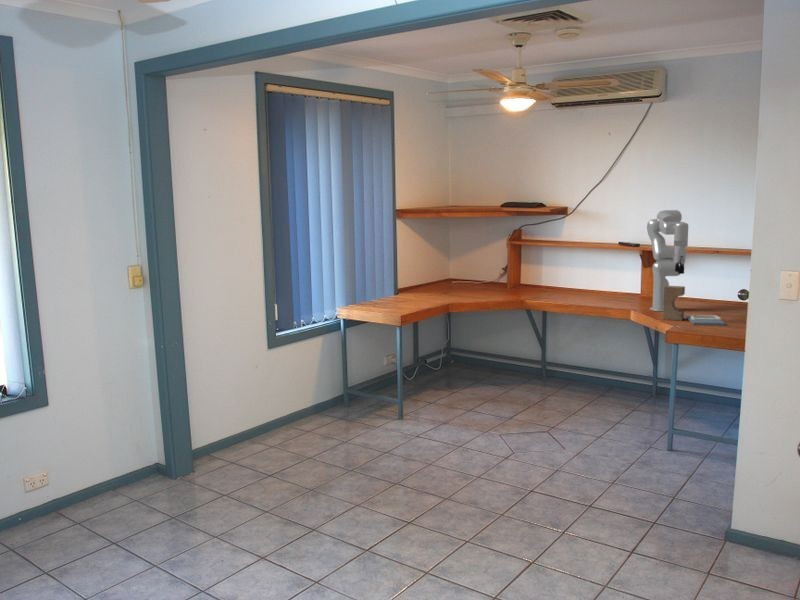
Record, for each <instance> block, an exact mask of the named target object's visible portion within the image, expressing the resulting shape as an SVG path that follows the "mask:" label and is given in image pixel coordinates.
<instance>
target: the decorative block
mask: <svg viewBox="0 0 800 600" xmlns="http://www.w3.org/2000/svg"><path fill="white" fill-rule="evenodd" d="M685 292H686V287H685V286H682V285H669V286H665V287H664V297H663V311H662V320H665V319H670V320H669V321H678V320H682V321H683V320H684V319H685V314H684V313H685V311H683V310H679V308H677V307H676V306H675V305H676V303H675V300H676V299H677V298H678V297H681V296H684V295H685Z"/></svg>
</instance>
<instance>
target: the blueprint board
mask: <svg viewBox="0 0 800 600" xmlns="http://www.w3.org/2000/svg"><path fill="white" fill-rule="evenodd" d="M684 319H686V320H687V319H688V320H689V321H690V322H691V325H693V326H726V322H725V321H723V320H722V318H721V317H719V316H718V315H715V314H714V315H713V314H711V315H710V314H709V315H707V314H705V315H704V314H703V315H701V314H700V315H699V314H684ZM688 320H687V321H688ZM689 321H688V322H689ZM690 322H689V323H690Z"/></svg>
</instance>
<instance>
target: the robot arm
mask: <svg viewBox="0 0 800 600" xmlns="http://www.w3.org/2000/svg"><path fill="white" fill-rule="evenodd" d="M682 219H683V215H682V213H681V212H680V211H679V210H677V209H674V210H673V209H669V210H668V209H665V210H660V211H659V212H658V213H657V214H656V218H654V219H653V218H652V219H650V220H649V221H648V222H647V224H646V231H647V236H648V237H649V239H650V242H651V249H652V256H653V257H652V258H653V259H654V260H655V262H654V263H653V264H652V267H651V268H652V278H653V279H652V280H653V283H652V284H653V285H652V286H653V288H652V306H651V307H649V310H650V311H654V312H663V297H664V287H665V286H670V282H669V281H668V279H667V278H666V277H678V276H680V275H684V274H685V263H686V256H687V255H686V250H687V247H688V243H689V224H688V222H684V221H682ZM662 234H663V235H674V236H673V245H666V238H665V237H664V236H663V235H662Z"/></svg>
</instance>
